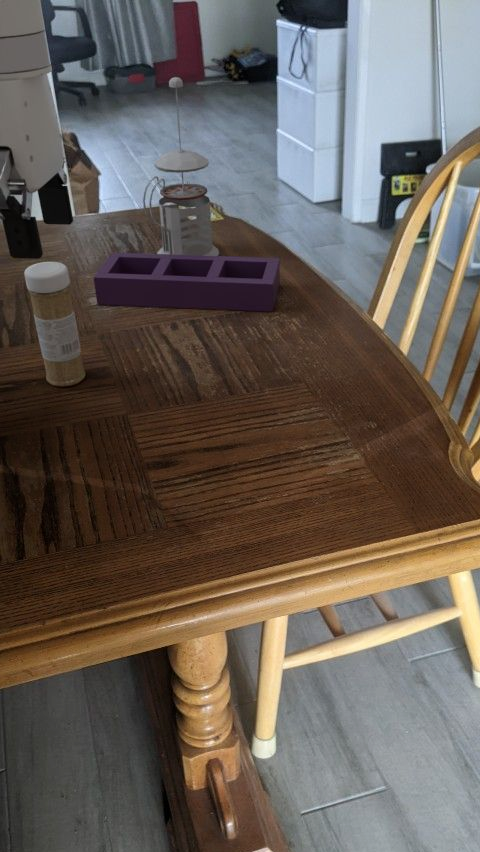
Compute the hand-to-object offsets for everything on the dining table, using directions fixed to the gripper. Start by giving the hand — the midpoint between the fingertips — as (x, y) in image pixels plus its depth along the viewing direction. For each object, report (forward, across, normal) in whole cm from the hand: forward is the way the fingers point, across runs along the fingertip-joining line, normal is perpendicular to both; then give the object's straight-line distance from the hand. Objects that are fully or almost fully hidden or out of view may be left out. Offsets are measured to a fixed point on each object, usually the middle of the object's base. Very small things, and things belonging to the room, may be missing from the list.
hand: (43, 239), depth 81 cm
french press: (+17, -40, +6) cm, 44 cm away
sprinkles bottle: (+17, 0, 0) cm, 17 cm away
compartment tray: (+17, -25, +10) cm, 31 cm away
